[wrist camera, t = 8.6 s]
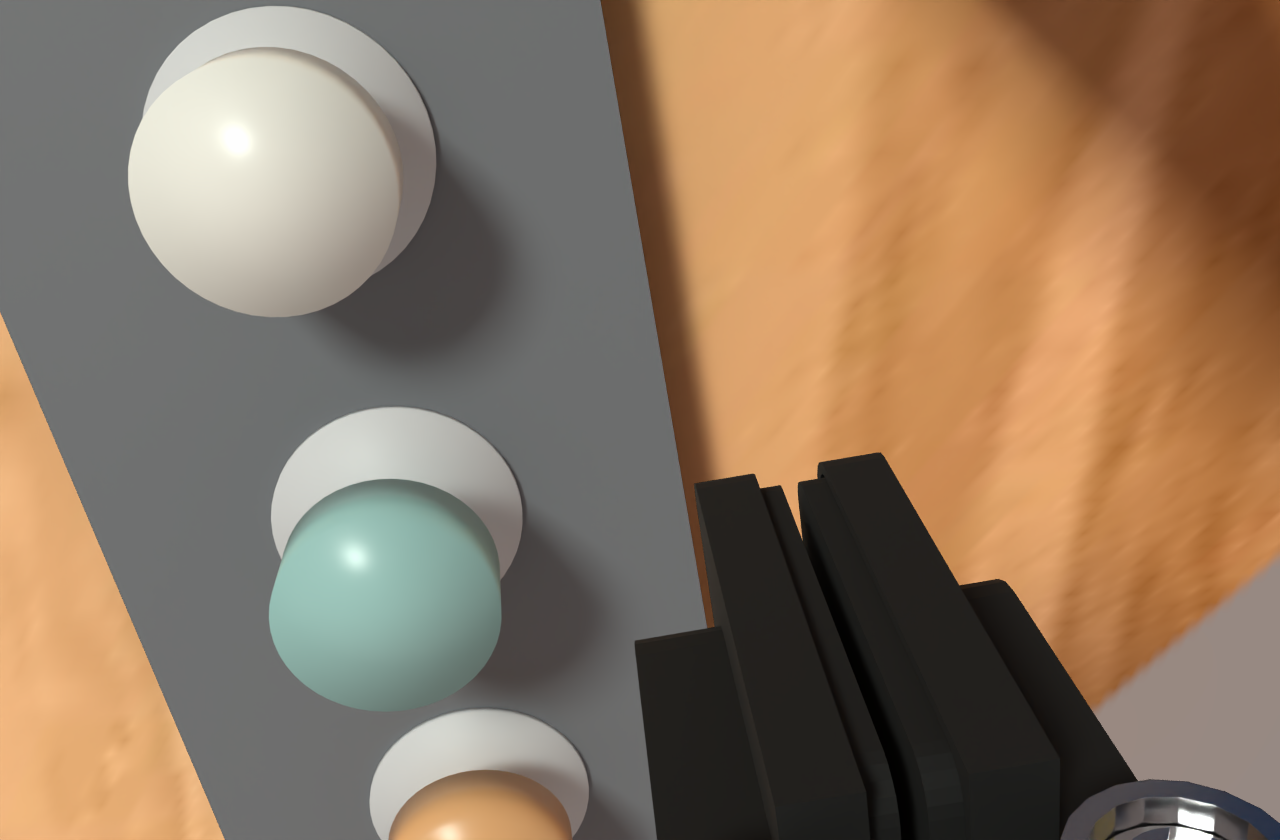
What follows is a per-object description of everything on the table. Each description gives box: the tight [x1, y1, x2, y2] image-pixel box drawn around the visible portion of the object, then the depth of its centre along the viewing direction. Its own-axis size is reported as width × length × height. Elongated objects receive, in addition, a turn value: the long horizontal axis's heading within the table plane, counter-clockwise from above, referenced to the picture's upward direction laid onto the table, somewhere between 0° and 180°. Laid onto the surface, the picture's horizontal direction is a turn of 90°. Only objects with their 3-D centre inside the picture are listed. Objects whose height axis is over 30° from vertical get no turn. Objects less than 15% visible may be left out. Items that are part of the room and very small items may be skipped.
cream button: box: [128, 47, 404, 317], centre depth 23 cm, size 5×5×3 cm
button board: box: [0, 0, 707, 840], centre depth 29 cm, size 14×28×2 cm, turn 9°
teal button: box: [269, 479, 502, 712], centre depth 26 cm, size 5×5×3 cm
